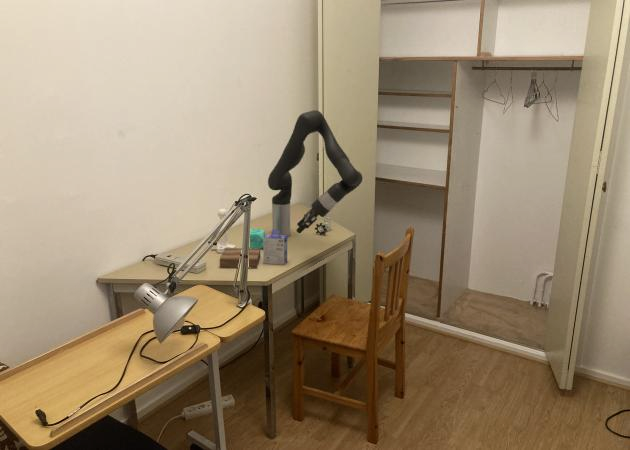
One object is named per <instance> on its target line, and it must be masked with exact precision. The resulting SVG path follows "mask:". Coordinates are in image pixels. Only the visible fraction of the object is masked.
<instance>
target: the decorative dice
mask: <svg viewBox="0 0 630 450" xmlns="http://www.w3.org/2000/svg"><path fill="white" fill-rule="evenodd" d="M249 230H250V248H251V249H260V250H262V249H263V238H264V237H265V236H266V232H265V231H264V229H260V228H251V229H249Z"/></svg>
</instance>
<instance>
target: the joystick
mask: <svg viewBox="0 0 630 450" xmlns="http://www.w3.org/2000/svg"><path fill="white" fill-rule="evenodd" d="M226 213H227V214H228V210H227V209H225V208H220V209H219V210H217V216H218V217H219V221H220V220H221V219H222V218H223V217H224V216H225V215H226ZM225 248H236V245H235V244H230V243H229V242H228V233H227V231H226V233H225V234H224V235H223V237H222V238H221V239H220V238H219V242H218V244H217V246H214V247H213V248H212V249H211V250H212V251H213V250H216V252H217V253H218V254H222V253H223V251H224V249H225Z"/></svg>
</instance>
